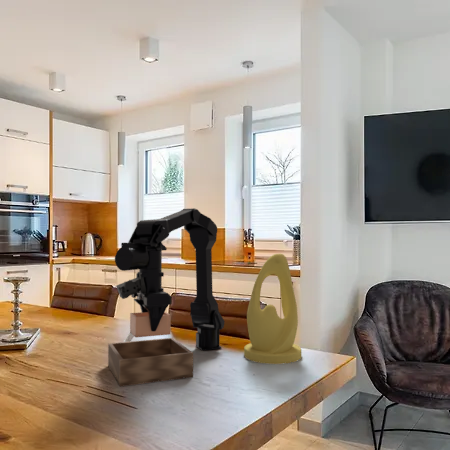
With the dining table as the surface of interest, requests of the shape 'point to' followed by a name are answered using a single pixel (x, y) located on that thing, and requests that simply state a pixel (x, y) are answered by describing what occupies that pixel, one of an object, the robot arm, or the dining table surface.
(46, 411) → the dining table surface
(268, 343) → the sculpture
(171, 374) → the big crate
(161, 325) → the small crate
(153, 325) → the robot arm
